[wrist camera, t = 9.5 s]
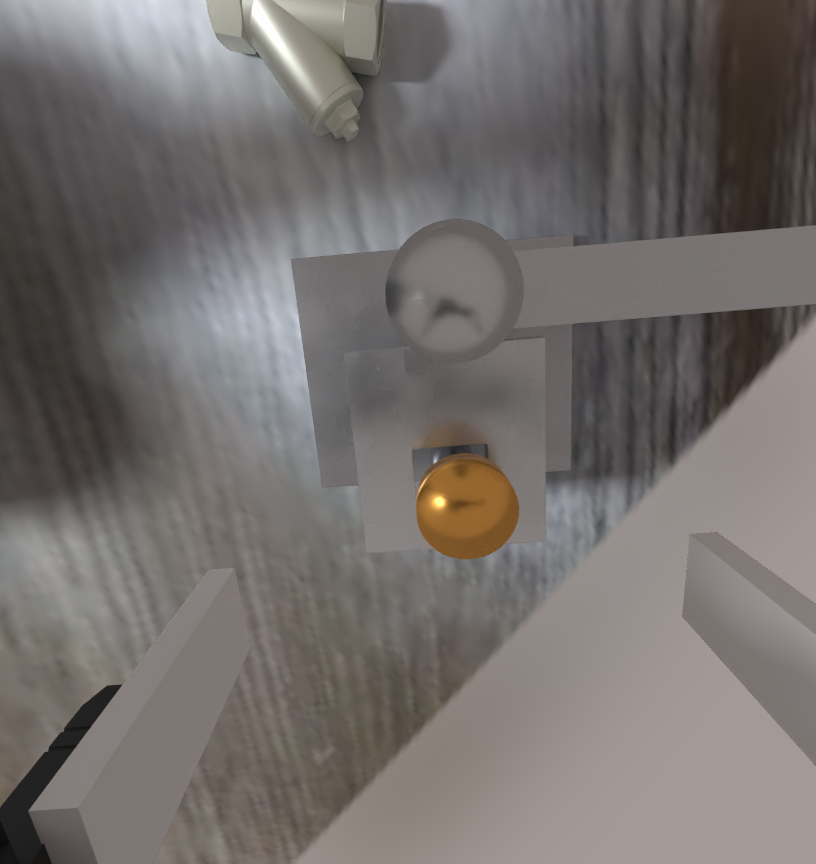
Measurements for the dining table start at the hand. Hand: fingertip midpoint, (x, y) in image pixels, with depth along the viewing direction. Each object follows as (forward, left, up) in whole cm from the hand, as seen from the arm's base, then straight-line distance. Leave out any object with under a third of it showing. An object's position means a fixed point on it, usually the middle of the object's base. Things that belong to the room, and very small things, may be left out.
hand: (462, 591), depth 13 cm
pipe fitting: (-6, +21, -18) cm, 28 cm away
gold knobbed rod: (+1, 0, -16) cm, 16 cm away
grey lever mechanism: (+4, +4, -17) cm, 18 cm away
